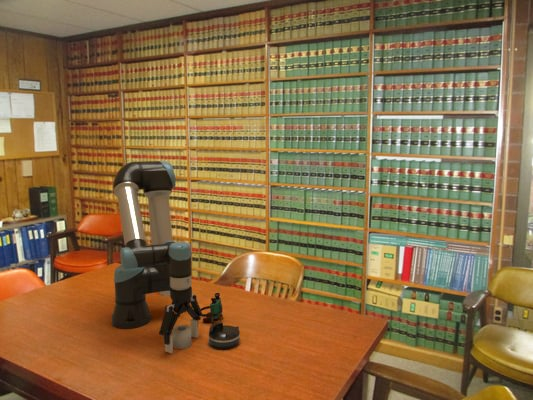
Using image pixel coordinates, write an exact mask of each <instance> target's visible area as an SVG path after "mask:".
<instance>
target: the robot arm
mask: <svg viewBox="0 0 533 400" xmlns="http://www.w3.org/2000/svg"><path fill="white" fill-rule="evenodd" d="M112 188H113V189H112V190H113V195H114V196H116V197H117V203H118V208H119V209H118V210H119V211H118V212H119V216H120V222H121V229H122V236H123V242H124V247H122V248H121V249H120V250H119V251H120V252H119V253H120V254H119V255H120V256H119V257H120V264H121V265H118V266H117V267H115V270H114V275H113V277H114V278H113V283H114V299H115V304H114V307H113V312H112V315H111V319H110V320H111V325H112V326H113V327H115V328H119V329H134V328H139V327H142V326H145V325H147V324H148V323H149V322H150V321H151V320H152V319H151V318H152V313H151V311H150V308H149V306H148V303H147V300H146V297H147V295H149V294H155V293H156V294H157V293H160V292H163V291H170V296H169V297H170V299H171V301H172V302H171V304H170V305H167V304H166V305H165V307H164V315H163V318H162V321H161V325H160V329H159V332H158V334H159V335H160V336H163V339H164V340H163V342H164V346H165V350H164V351H165V352H166V353H169V354H171V355H172V354H173V353H174V349H173V348H174V347H173V328H174V327H175V326H176V323H177V322H178V321H177V320H178V318H180V316H181V315H182V314H184V313H187V314H188V315H189V316H190V317H191V319H190V327H191V338H195V339H197V338H198V337H199V321H201V320H202V319H201V318H202V317H203V316H202V314H203V311H201V310H200V309H201V307H200V305H199V302H198V300H197V295H196V294H193V287H192V255H193V252H192V247H191V244H190V243H189V242H185V241H174V240H173V231H172V221H171V219H172V218H171V208H170V206H171V205H170V196H171V194H173V189H175V188H176V172H175V170H174V167H173V166H172V164H171V163H170V162H169V161H166V160H165V161H164V160H163V161H162V160H154V161H153V160H152V161H151V160H148V161H131V162H128V163H126V164H124V165H123V166H121V167H120V169H119V170H118V171H117V172H116V174H115V177H114V178H113V183H112ZM142 190H143V195H144V196H145V197H146V198H147V205H148V216H149V217H148V219H149V231H150V245H147V239H146V234H145V233H146V232H145V228H144V222H143V217H142V213H141V208H140V207H141V206H140V201H139V197H138V193H139V191H142Z"/></svg>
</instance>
